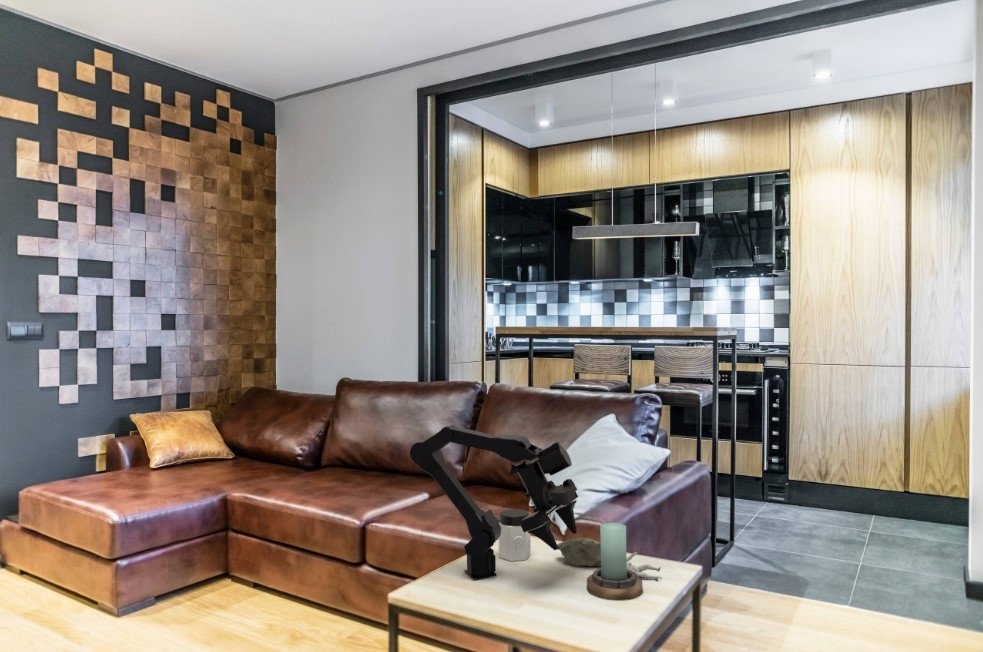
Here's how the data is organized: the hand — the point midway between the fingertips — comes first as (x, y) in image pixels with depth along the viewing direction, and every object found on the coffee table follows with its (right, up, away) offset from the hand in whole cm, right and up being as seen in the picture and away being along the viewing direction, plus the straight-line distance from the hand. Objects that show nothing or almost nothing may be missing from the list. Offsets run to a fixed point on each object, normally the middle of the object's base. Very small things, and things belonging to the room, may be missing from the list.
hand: (566, 541), depth 164 cm
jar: (-12, -11, +20) cm, 25 cm away
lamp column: (+11, -8, -5) cm, 14 cm away
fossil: (+6, -10, +14) cm, 18 cm away
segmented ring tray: (+11, -10, -5) cm, 16 cm away
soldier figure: (+18, -10, +3) cm, 21 cm away
